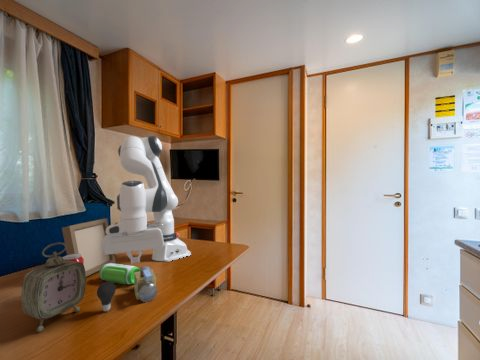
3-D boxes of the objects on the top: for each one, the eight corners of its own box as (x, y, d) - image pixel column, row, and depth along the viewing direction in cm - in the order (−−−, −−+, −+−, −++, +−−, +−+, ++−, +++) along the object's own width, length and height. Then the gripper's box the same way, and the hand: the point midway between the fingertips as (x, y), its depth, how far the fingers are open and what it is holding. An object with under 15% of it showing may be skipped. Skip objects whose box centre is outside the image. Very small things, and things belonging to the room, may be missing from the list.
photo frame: (115, 264, 121) (115, 218, 121) (79, 281, 100) (79, 226, 100) (92, 262, 124) (92, 217, 124) (53, 279, 103) (53, 225, 103)
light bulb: (102, 306, 80) (102, 279, 80) (118, 306, 80) (118, 278, 80) (93, 316, 74) (93, 286, 74) (110, 315, 75) (110, 285, 75)
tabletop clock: (36, 337, 64) (36, 251, 64) (17, 330, 67) (17, 247, 68) (85, 310, 78) (85, 238, 78) (68, 305, 81) (68, 236, 81)
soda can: (64, 300, 84) (64, 261, 84) (55, 295, 88) (55, 257, 88) (87, 291, 91) (87, 255, 91) (78, 287, 95) (78, 252, 95)
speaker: (142, 280, 101) (142, 264, 101) (129, 288, 94) (129, 270, 94) (111, 276, 106) (111, 260, 106) (97, 282, 99) (97, 266, 99)
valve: (150, 284, 97) (150, 265, 97) (158, 299, 85) (157, 278, 85) (133, 288, 93) (133, 269, 93) (138, 304, 81) (138, 282, 81)
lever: (139, 272, 90) (139, 267, 90) (148, 270, 92) (148, 265, 92) (143, 282, 81) (143, 276, 81) (154, 280, 83) (154, 274, 83)
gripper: (163, 220, 88) (165, 255, 88) (104, 226, 81) (106, 263, 81) (164, 224, 82) (165, 261, 82) (100, 230, 75) (101, 270, 75)
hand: (135, 262), depth 82 cm, fingers closed
